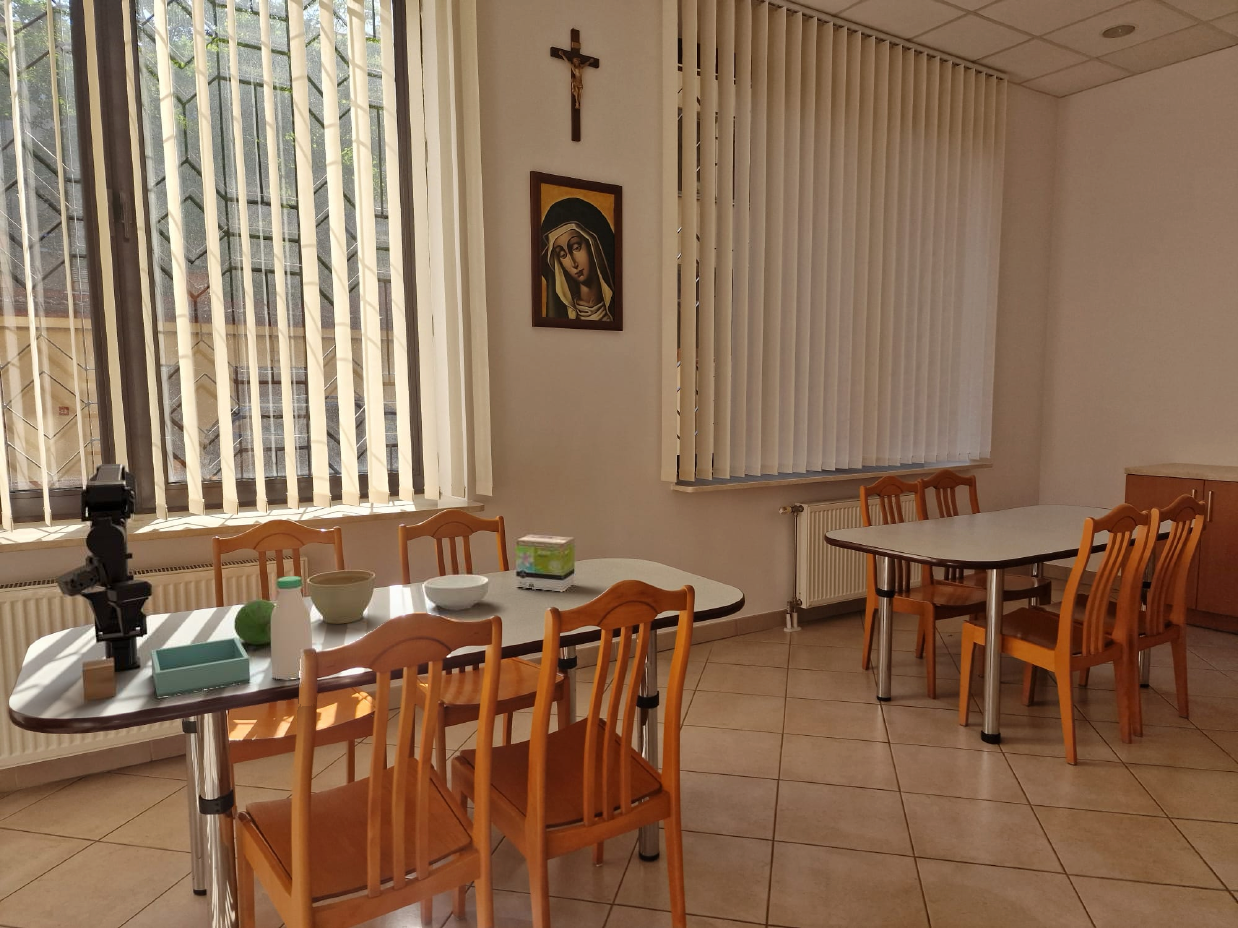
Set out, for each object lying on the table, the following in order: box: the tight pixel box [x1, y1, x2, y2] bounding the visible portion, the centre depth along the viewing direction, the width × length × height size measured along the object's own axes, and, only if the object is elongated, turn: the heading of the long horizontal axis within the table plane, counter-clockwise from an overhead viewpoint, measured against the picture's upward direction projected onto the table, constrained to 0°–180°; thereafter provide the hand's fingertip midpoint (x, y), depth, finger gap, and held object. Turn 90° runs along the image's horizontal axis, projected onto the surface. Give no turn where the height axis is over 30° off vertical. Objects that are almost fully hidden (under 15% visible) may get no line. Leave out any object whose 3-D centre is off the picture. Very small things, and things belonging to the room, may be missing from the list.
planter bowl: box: [307, 569, 376, 625], centre depth 204 cm, size 16×16×11 cm
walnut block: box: [81, 658, 117, 702], centre depth 153 cm, size 5×5×6 cm
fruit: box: [233, 599, 276, 646], centre depth 183 cm, size 15×10×10 cm, turn 35°
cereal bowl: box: [423, 574, 490, 611], centre depth 217 cm, size 17×17×7 cm
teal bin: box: [150, 636, 251, 698], centre depth 162 cm, size 16×16×5 cm
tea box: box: [515, 534, 575, 590], centre depth 237 cm, size 15×10×15 cm
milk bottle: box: [270, 575, 313, 680], centre depth 163 cm, size 8×8×20 cm
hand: (114, 631), depth 151 cm, fingers open, 9 cm apart
